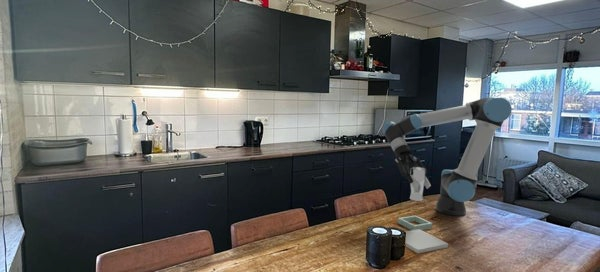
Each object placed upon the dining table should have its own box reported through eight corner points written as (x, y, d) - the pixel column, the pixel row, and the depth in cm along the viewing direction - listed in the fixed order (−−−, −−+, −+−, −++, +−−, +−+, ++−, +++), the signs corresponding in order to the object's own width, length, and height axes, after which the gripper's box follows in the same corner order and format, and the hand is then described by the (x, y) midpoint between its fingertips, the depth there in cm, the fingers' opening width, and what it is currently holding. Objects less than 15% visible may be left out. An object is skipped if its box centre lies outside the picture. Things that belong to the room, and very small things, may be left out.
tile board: (419, 232, 145) (419, 229, 144) (447, 247, 130) (448, 243, 130) (390, 237, 138) (391, 233, 138) (417, 253, 124) (418, 249, 124)
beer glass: (421, 202, 146) (423, 170, 145) (406, 199, 151) (408, 168, 149) (426, 198, 152) (427, 168, 150) (411, 196, 156) (413, 166, 155)
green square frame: (415, 220, 160) (415, 215, 160) (432, 228, 150) (432, 223, 149) (397, 222, 155) (398, 218, 155) (414, 231, 145) (414, 226, 145)
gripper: (411, 152, 167) (433, 190, 154) (381, 153, 159) (401, 193, 146) (419, 143, 162) (443, 181, 149) (388, 144, 154) (410, 185, 141)
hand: (422, 187), depth 147 cm, fingers closed on beer glass, 7 cm apart
